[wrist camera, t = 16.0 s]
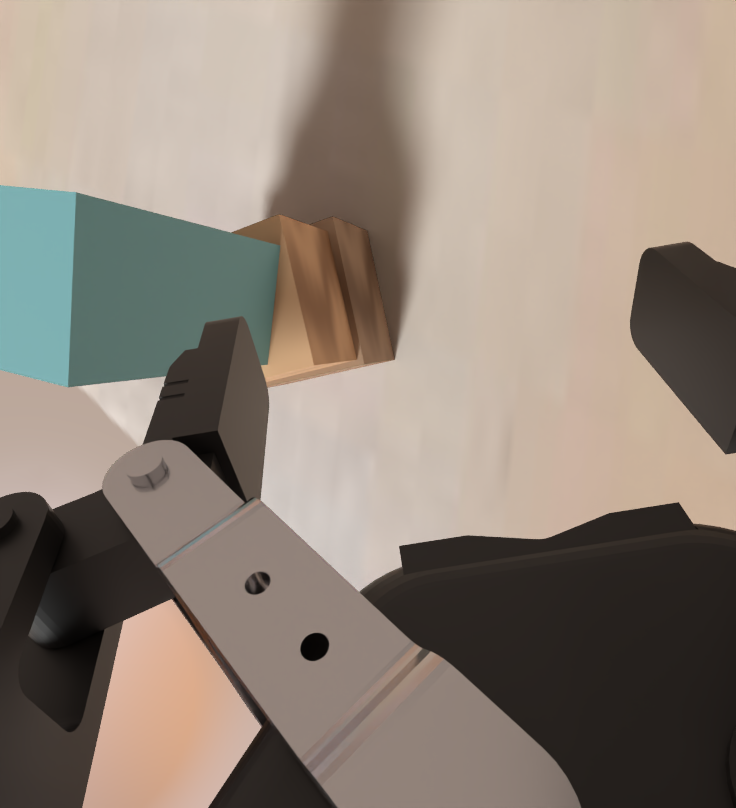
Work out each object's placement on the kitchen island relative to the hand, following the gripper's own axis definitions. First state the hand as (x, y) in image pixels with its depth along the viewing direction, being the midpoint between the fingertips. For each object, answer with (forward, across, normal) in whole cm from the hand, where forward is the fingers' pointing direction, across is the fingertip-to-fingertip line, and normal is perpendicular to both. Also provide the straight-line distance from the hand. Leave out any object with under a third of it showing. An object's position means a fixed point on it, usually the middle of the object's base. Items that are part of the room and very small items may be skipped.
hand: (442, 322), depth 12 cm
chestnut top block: (+18, +6, +9) cm, 21 cm away
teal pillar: (+15, +8, +6) cm, 18 cm away
